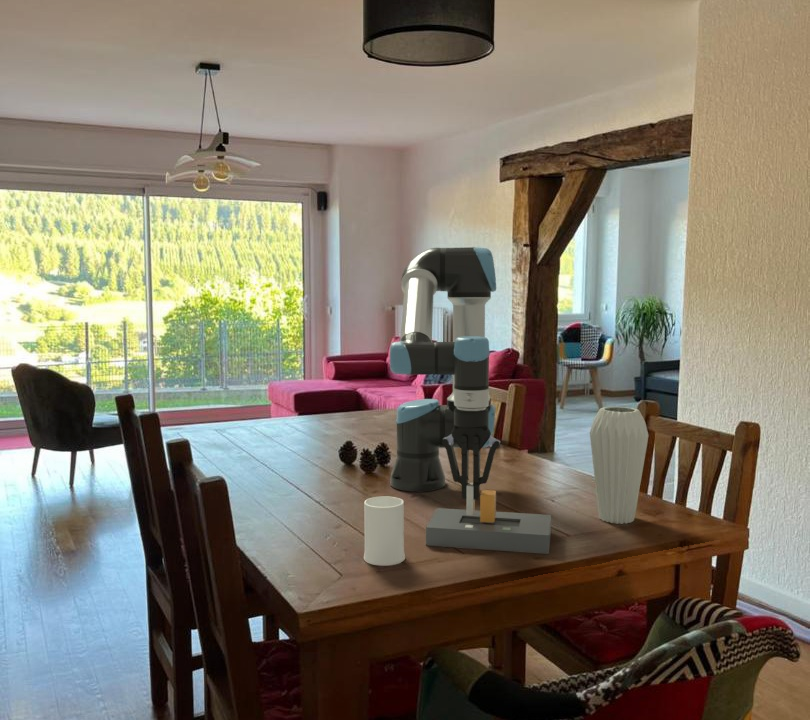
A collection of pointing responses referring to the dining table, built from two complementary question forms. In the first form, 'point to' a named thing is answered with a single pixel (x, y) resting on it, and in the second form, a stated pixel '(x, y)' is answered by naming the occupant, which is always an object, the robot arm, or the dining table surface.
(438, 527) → the panel
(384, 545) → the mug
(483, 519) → the toggle
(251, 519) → the dining table surface
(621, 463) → the vase
